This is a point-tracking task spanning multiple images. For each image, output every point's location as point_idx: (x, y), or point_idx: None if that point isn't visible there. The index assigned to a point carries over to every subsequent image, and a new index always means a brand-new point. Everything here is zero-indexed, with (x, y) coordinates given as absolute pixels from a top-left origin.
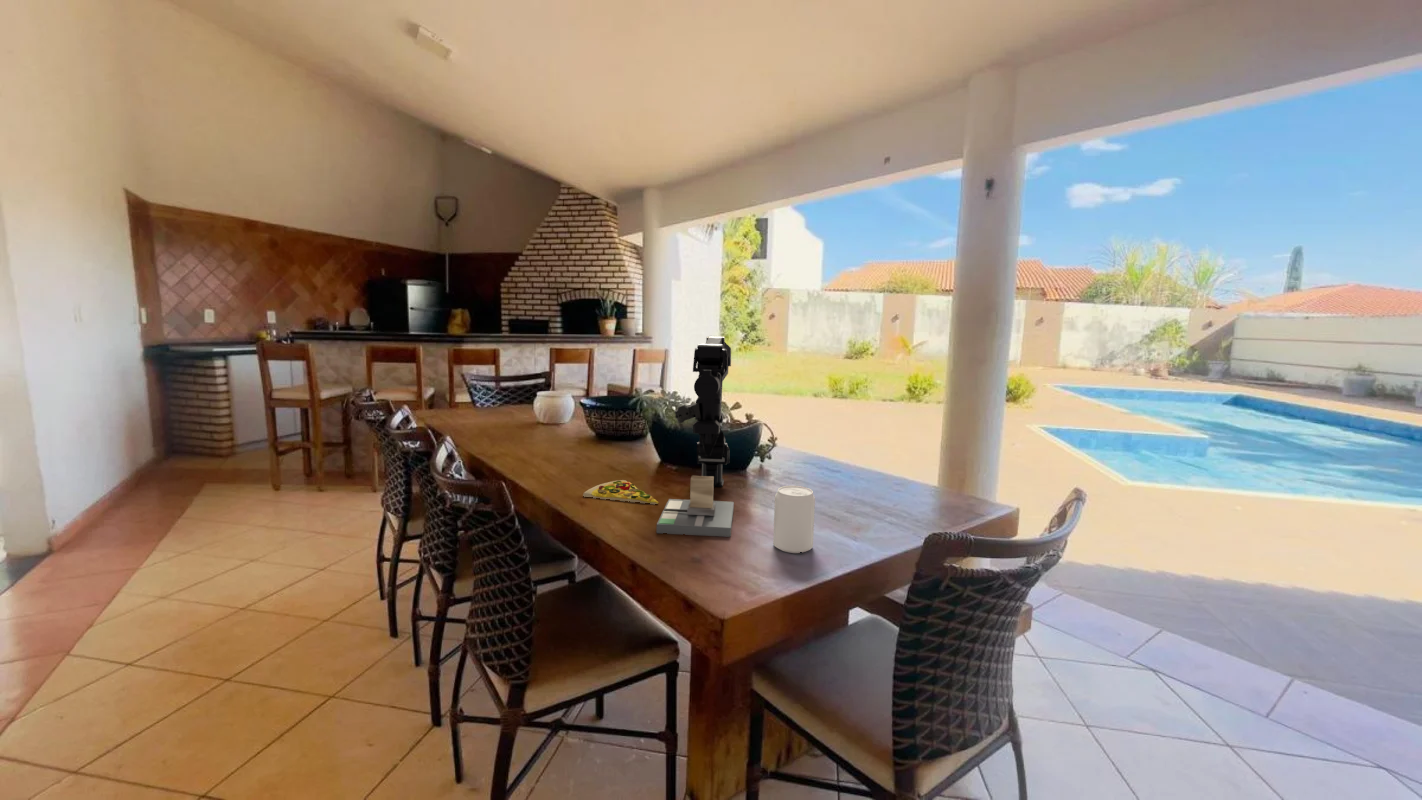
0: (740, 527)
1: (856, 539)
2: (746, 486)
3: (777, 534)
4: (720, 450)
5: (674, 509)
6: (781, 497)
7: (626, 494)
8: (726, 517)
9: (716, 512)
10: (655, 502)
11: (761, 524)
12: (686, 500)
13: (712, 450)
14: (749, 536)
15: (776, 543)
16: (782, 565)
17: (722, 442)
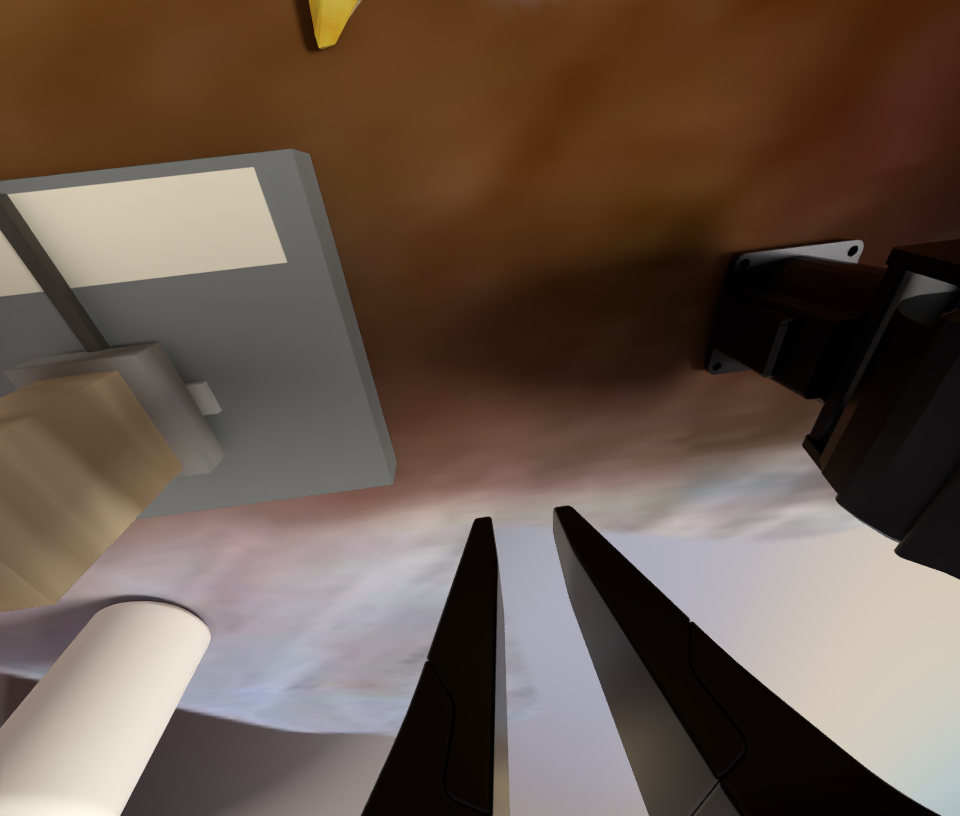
0: (220, 510)
1: (298, 688)
2: (707, 453)
3: (62, 653)
4: (863, 499)
5: (36, 269)
6: None
7: None
8: (180, 496)
9: None
10: (313, 18)
11: (287, 551)
12: (316, 280)
13: (893, 443)
14: (157, 541)
15: (89, 622)
16: (16, 622)
17: (945, 567)
